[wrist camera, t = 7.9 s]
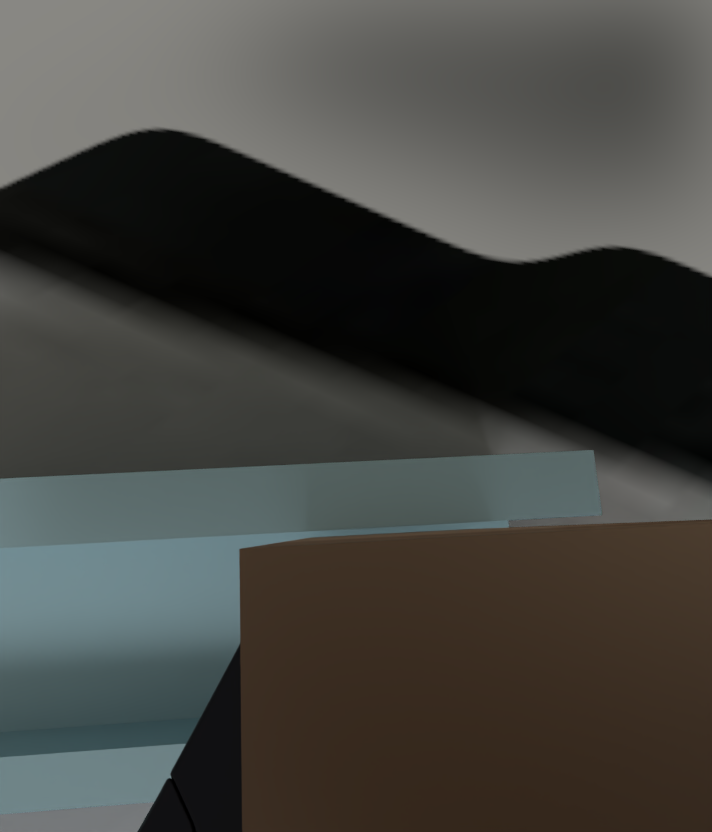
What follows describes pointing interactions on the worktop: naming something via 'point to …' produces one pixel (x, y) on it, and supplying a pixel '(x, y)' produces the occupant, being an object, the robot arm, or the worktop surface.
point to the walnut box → (479, 680)
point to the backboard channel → (190, 594)
